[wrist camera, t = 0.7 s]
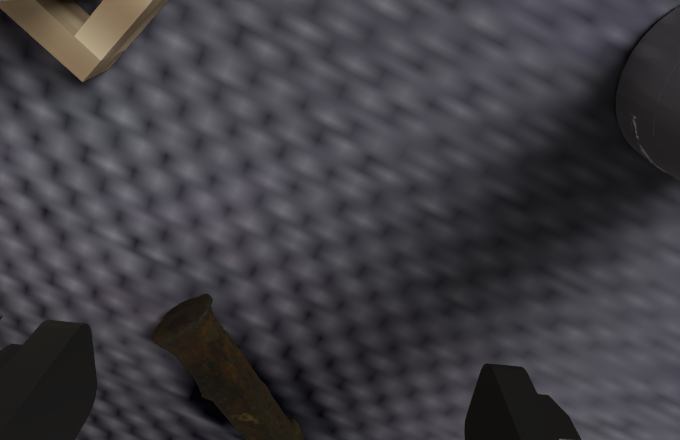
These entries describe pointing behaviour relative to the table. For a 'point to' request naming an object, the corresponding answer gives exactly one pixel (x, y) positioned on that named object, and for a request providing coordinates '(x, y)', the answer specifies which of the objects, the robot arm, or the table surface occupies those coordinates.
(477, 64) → the table surface
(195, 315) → the hand tool
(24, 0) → the holder
